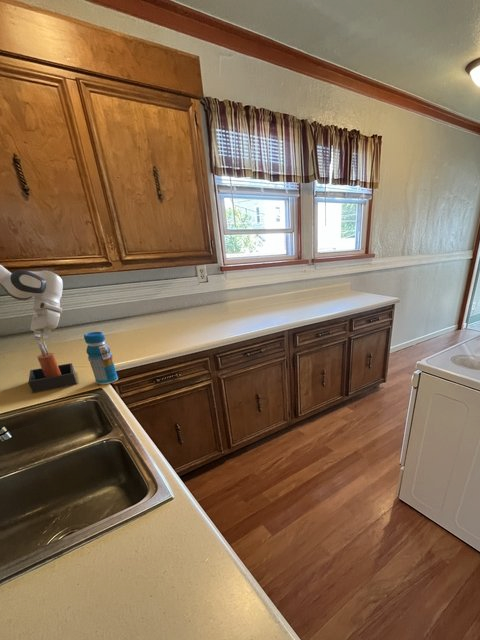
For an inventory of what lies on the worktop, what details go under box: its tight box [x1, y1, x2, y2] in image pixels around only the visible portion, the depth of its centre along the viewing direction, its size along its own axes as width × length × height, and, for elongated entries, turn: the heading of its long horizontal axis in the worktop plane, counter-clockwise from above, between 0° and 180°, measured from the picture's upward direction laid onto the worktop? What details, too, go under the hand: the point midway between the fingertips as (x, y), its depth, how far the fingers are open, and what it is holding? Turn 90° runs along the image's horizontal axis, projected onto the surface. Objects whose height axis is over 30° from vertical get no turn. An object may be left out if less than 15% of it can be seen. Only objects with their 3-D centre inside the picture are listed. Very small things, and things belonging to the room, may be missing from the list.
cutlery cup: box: [36, 341, 62, 378], centre depth 130 cm, size 6×6×17 cm
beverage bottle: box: [83, 331, 119, 385], centre depth 131 cm, size 8×8×20 cm
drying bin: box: [27, 362, 78, 393], centre depth 133 cm, size 15×15×5 cm
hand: (40, 339), depth 141 cm, fingers open, 8 cm apart
